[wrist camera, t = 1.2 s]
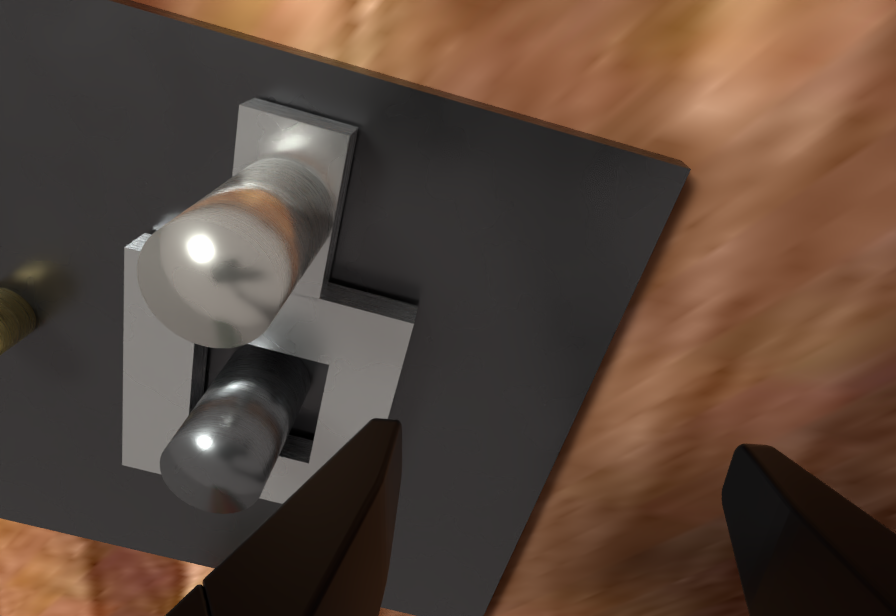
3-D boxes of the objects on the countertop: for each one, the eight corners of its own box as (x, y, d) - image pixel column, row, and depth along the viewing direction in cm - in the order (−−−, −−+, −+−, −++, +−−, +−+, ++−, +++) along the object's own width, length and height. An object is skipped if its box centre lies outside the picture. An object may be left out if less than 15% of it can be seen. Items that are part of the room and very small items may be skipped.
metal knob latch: (365, 499, 24) (326, 652, 18) (138, 443, 23) (28, 584, 18) (459, 155, 17) (443, 233, 12) (149, 67, 17) (-21, 105, 11)
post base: (477, 609, 28) (473, 751, 23) (5, 498, 27) (-114, 621, 22) (681, 160, 18) (758, 230, 13) (-60, -56, 17) (-314, -77, 12)
